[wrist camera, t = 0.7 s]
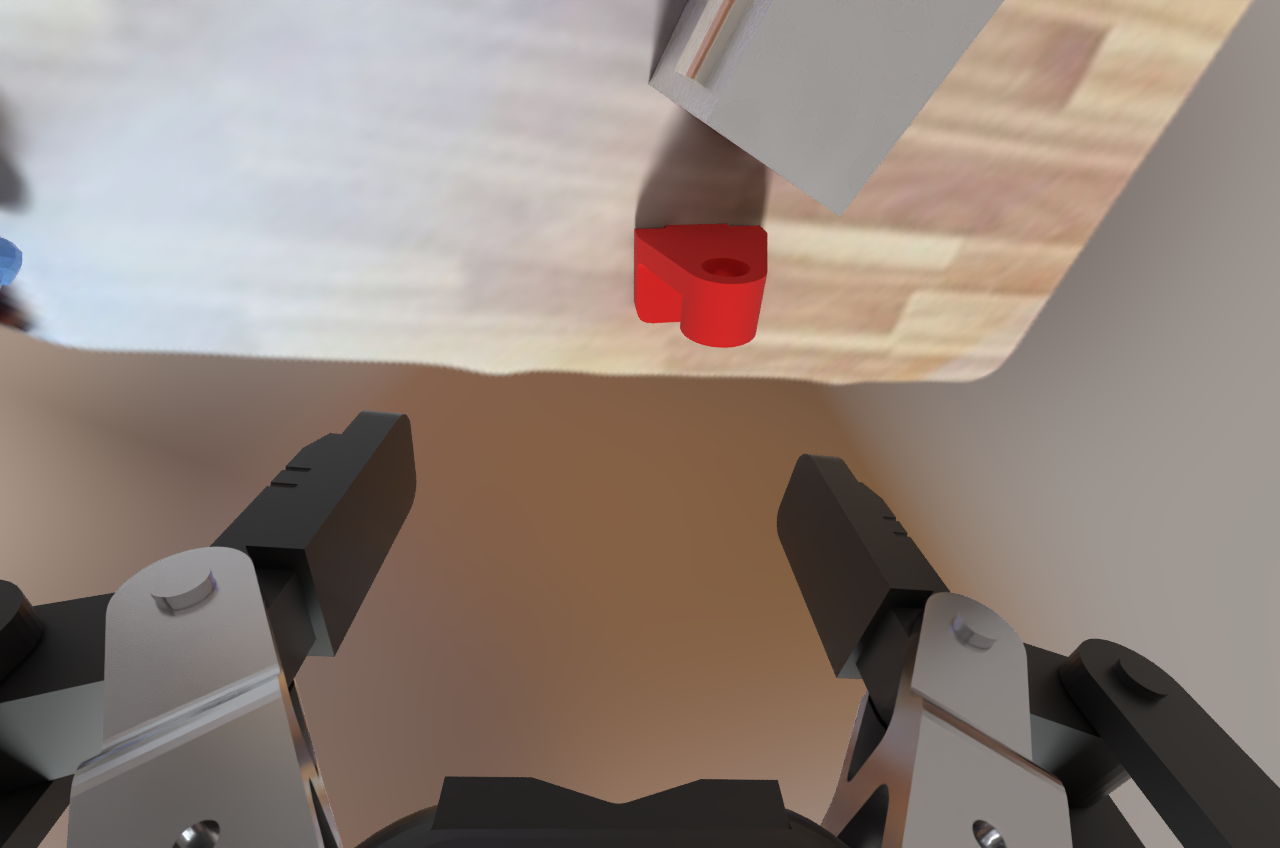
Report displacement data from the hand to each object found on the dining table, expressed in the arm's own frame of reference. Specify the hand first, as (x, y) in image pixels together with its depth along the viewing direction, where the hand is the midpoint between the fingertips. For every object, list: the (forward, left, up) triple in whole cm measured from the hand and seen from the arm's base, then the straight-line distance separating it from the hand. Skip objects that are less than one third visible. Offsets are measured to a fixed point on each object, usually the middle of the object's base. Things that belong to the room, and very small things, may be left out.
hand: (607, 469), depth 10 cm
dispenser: (+6, +10, -27) cm, 29 cm away
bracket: (+11, -2, -27) cm, 29 cm away
